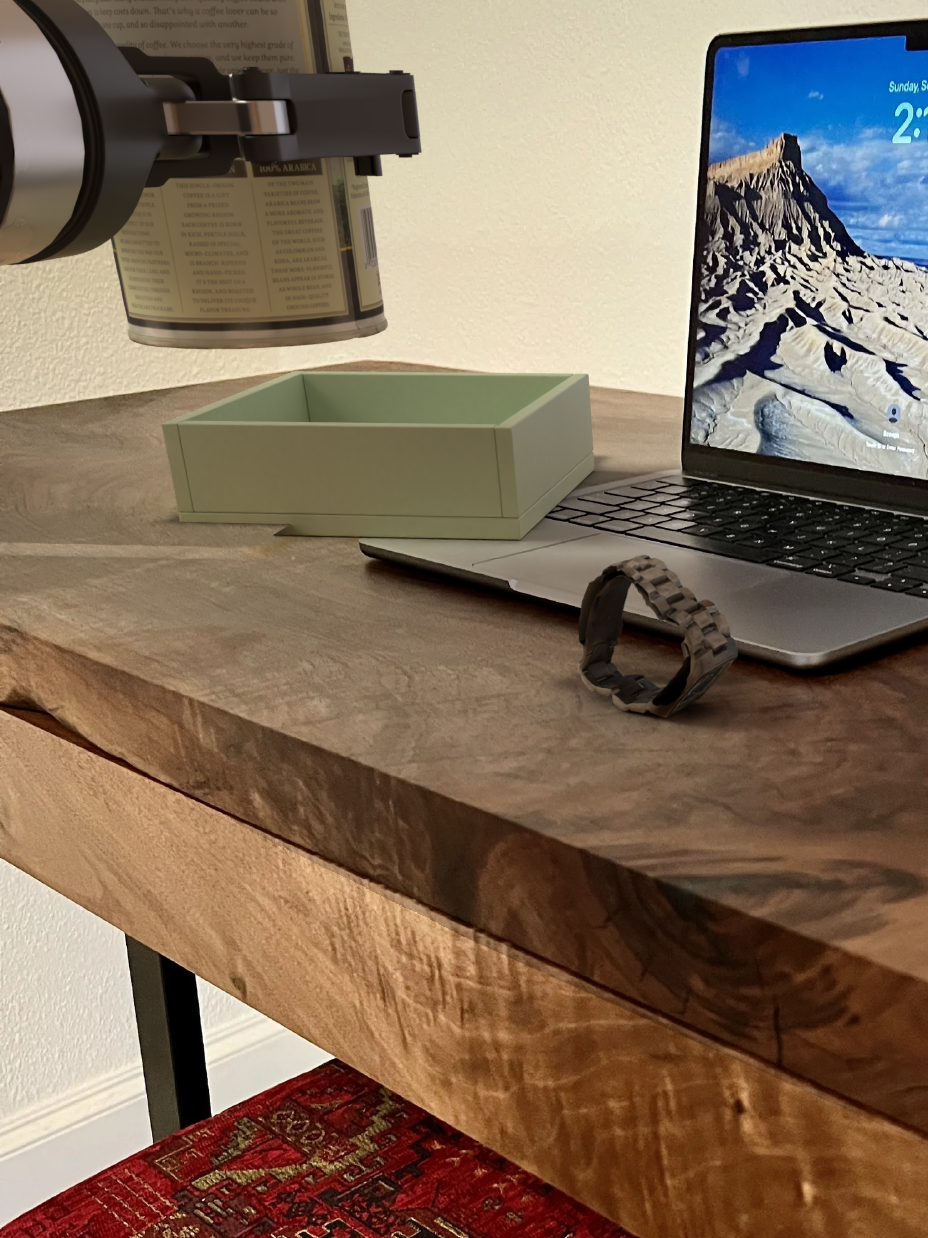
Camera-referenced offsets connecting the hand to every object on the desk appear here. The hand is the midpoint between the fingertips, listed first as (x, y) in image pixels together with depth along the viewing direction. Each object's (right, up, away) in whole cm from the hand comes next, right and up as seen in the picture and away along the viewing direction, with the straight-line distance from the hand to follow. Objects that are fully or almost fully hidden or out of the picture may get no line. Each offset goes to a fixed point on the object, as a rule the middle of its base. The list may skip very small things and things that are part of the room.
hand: (268, 113), depth 65 cm
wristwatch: (+17, -26, -10) cm, 33 cm away
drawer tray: (+1, -9, +18) cm, 20 cm away
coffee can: (0, -9, 0) cm, 9 cm away
